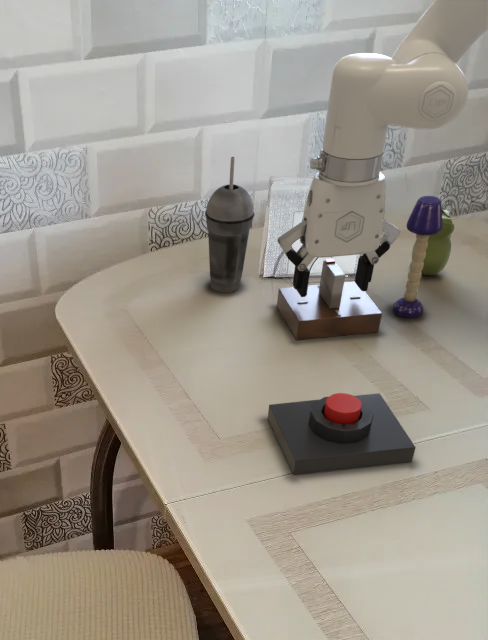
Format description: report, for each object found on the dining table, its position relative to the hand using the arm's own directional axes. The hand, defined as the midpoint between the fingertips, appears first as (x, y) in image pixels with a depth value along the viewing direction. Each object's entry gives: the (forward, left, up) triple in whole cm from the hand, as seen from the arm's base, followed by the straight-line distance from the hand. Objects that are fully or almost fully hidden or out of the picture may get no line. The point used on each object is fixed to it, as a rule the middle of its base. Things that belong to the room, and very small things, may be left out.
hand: (330, 289), depth 113 cm
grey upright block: (0, 0, -2) cm, 2 cm away
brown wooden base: (0, 0, -5) cm, 5 cm away
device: (+8, +28, -5) cm, 30 cm away
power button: (+8, +28, -1) cm, 29 cm away
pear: (-20, -11, -5) cm, 23 cm away
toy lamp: (-12, 0, -5) cm, 13 cm away
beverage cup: (+12, -13, -5) cm, 18 cm away
